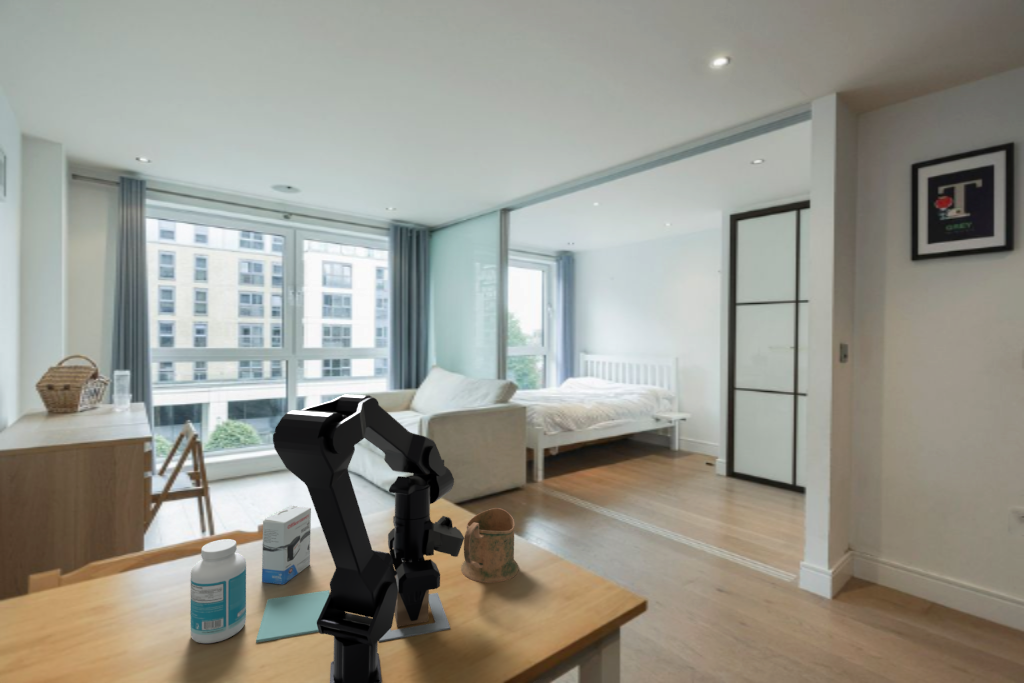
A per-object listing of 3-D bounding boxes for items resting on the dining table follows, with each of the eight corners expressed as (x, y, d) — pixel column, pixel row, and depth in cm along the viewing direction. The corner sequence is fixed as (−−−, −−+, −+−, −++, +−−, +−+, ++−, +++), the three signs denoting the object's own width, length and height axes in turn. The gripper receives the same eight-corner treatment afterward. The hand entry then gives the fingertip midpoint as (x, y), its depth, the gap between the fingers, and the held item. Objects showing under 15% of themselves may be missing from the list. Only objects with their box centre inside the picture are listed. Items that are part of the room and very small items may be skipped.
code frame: (450, 629, 77) (450, 627, 77) (378, 642, 73) (378, 640, 73) (437, 594, 87) (437, 592, 87) (374, 604, 83) (374, 602, 83)
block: (428, 621, 78) (428, 584, 78) (397, 626, 77) (397, 589, 77) (423, 605, 83) (424, 570, 83) (393, 610, 82) (394, 574, 82)
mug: (436, 592, 88) (437, 526, 88) (474, 552, 104) (475, 497, 104) (495, 604, 84) (497, 536, 84) (525, 561, 101) (526, 503, 101)
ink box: (283, 585, 89) (284, 522, 89) (260, 582, 90) (261, 519, 90) (311, 564, 98) (312, 506, 97) (290, 562, 99) (290, 504, 98)
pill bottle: (234, 612, 80) (236, 531, 80) (253, 629, 76) (255, 543, 76) (182, 632, 75) (183, 545, 75) (199, 653, 70) (201, 560, 70)
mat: (327, 630, 76) (327, 628, 76) (255, 642, 72) (256, 640, 72) (329, 592, 87) (329, 590, 87) (267, 601, 84) (267, 599, 84)
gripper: (473, 529, 74) (472, 630, 74) (448, 492, 91) (447, 574, 91) (399, 537, 70) (397, 644, 70) (388, 497, 88) (387, 583, 88)
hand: (410, 607), depth 80 cm, fingers open, 7 cm apart
